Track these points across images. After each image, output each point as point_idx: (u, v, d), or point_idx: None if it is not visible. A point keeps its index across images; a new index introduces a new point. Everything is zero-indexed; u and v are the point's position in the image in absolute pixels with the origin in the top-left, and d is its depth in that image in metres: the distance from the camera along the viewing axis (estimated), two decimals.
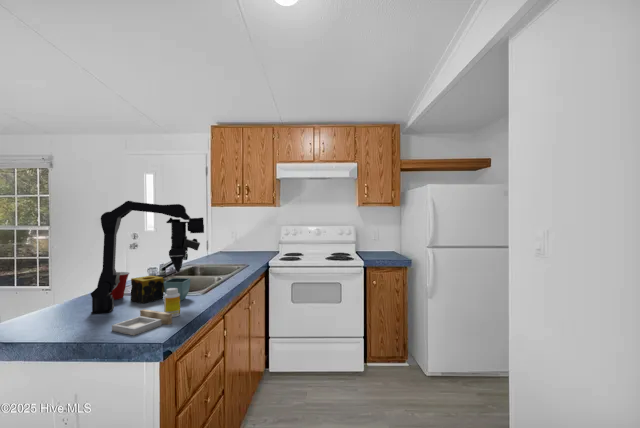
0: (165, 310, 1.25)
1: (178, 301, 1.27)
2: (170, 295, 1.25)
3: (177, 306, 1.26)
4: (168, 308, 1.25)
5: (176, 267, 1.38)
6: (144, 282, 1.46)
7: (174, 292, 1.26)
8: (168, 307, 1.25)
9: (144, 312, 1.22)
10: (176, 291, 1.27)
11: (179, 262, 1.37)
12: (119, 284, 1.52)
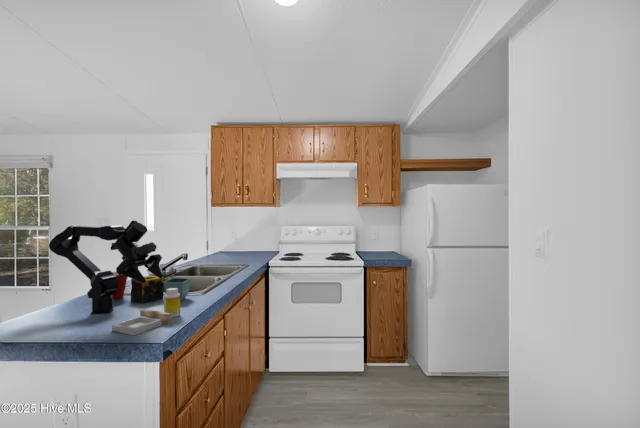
0: (165, 310, 1.25)
1: (178, 301, 1.27)
2: (170, 295, 1.25)
3: (177, 306, 1.26)
4: (168, 308, 1.25)
5: (139, 279, 1.24)
6: None
7: (174, 292, 1.26)
8: (168, 307, 1.25)
9: (144, 312, 1.22)
10: (176, 291, 1.27)
11: (136, 273, 1.24)
12: (119, 284, 1.52)
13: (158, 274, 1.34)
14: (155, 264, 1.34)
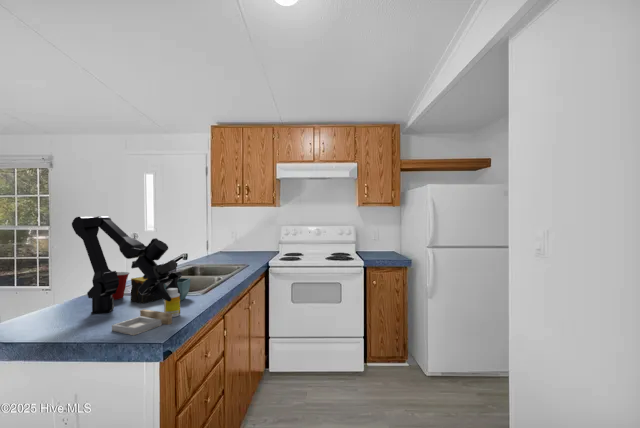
0: (165, 310, 1.25)
1: (178, 301, 1.27)
2: (170, 295, 1.25)
3: (177, 306, 1.26)
4: (168, 308, 1.25)
5: (164, 298, 1.24)
6: None
7: (174, 292, 1.26)
8: (168, 307, 1.25)
9: (144, 312, 1.22)
10: (176, 291, 1.27)
11: (162, 292, 1.23)
12: (119, 284, 1.52)
13: None
14: (173, 283, 1.31)
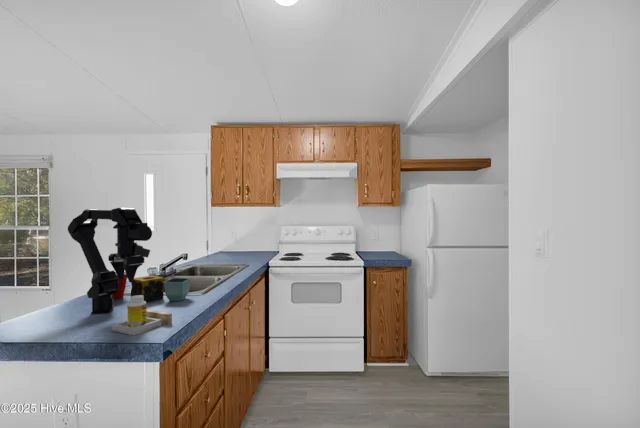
0: None
1: (140, 311, 1.12)
2: (131, 303, 1.12)
3: (138, 317, 1.12)
4: (129, 317, 1.11)
5: (130, 277, 1.25)
6: (144, 282, 1.46)
7: (136, 300, 1.12)
8: (128, 316, 1.12)
9: None
10: (139, 299, 1.13)
11: (134, 271, 1.26)
12: (119, 284, 1.52)
13: (121, 275, 1.32)
14: (124, 264, 1.34)
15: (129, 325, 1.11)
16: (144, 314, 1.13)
